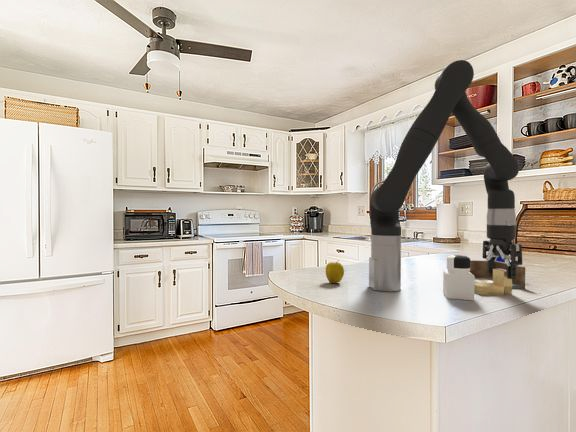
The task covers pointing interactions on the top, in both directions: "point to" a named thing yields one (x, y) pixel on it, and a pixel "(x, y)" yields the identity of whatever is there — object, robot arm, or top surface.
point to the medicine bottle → (458, 278)
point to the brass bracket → (495, 284)
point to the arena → (482, 276)
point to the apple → (334, 272)
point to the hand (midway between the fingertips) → (501, 275)
